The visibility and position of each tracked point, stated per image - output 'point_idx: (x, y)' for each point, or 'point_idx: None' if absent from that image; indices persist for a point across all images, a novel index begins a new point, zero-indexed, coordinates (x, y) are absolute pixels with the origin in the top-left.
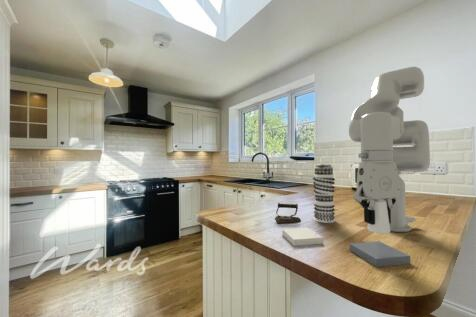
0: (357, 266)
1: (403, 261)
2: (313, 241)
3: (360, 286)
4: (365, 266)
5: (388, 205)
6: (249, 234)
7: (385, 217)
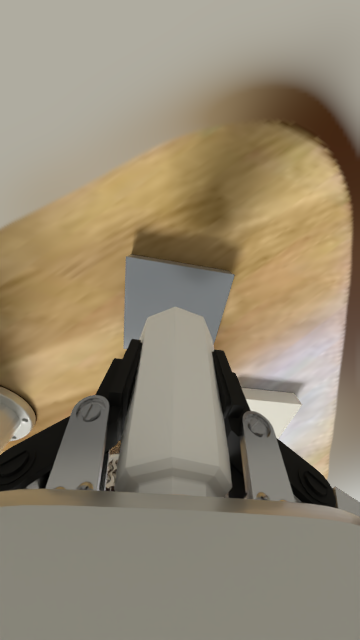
0: (264, 287)
1: (151, 258)
2: (254, 393)
3: (350, 217)
4: (248, 281)
5: (106, 424)
6: (319, 445)
7: (180, 349)
